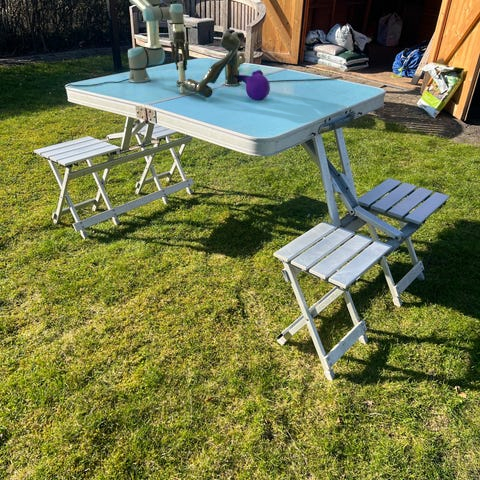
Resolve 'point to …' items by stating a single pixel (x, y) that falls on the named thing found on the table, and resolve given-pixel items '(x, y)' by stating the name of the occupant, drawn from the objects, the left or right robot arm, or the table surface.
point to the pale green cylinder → (182, 79)
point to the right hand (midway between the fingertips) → (180, 81)
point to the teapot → (241, 59)
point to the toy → (255, 85)
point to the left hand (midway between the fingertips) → (181, 69)
